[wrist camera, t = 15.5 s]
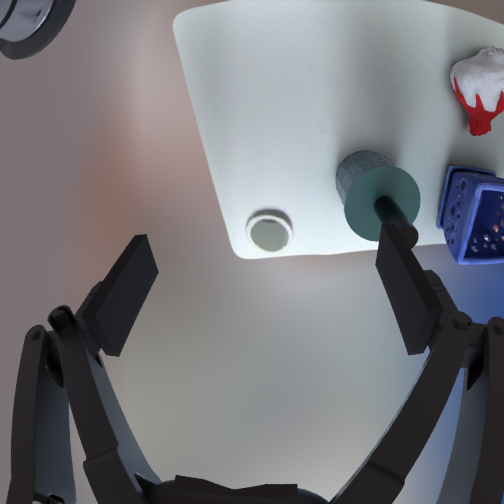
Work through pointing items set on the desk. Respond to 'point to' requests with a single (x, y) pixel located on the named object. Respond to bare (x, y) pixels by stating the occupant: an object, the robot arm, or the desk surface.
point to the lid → (383, 203)
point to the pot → (357, 168)
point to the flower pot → (472, 215)
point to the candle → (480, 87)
